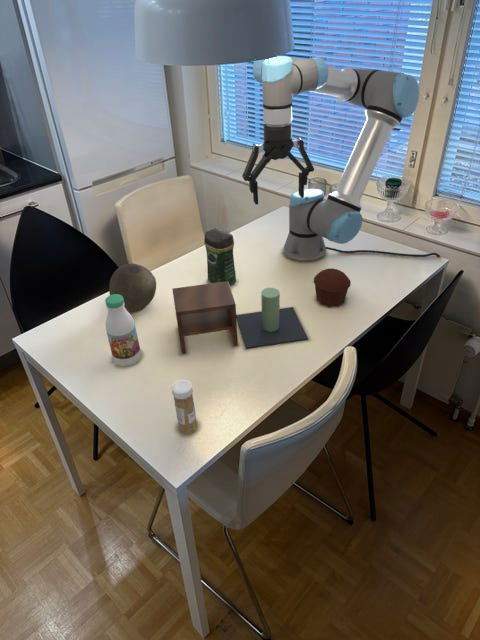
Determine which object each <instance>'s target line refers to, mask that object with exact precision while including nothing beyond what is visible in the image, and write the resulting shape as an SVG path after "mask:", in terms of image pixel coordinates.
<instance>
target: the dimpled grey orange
mask: <svg viewBox="0 0 480 640" xmlns="http://www.w3.org/2000/svg"><path fill="white" fill-rule="evenodd" d="M108 289H109V290H108V291H109V292H108V293H109V296H110V295H113V294H119V295H121V296H122V297H123V299H124V307H125V309H126V310H127V311H128V313H129V314H134V313H138V312H141V311H143V310H144V309H146V308H147V307H148V306H149V305H150V303H151V302H152V301H153V300H154V297H155V295H156V291H157V280H156V277H155V275H154V274H153V273H152V271H150V269H148V268H147V267H145V266H143V265H141V264H138V263H125V264H123V265H121V266H119V267H118V268H116V270H115V271H114V272H113V273H112V275H111V277H110V280H109V287H108Z"/></svg>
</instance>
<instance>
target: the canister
mask: <svg viewBox="0 0 480 640" xmlns="http://www.w3.org/2000/svg"><path fill="white" fill-rule="evenodd" d="M260 294H261V296H260V297H261V298H260V299H261V300H260V301H261V302H260V304H261V305H260V306H261V311H262V328H263V329H264V330H265V331H269V332H272V331H276V330H278V329H279V320H280V309H281V307H280V305H281V303H280V302H281V299H280V298H281V291H280V289H278V288H276V287H265V288H263V289H262V290H261V292H260Z"/></svg>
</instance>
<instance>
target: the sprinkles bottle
mask: <svg viewBox="0 0 480 640" xmlns="http://www.w3.org/2000/svg"><path fill="white" fill-rule="evenodd" d="M193 392H194V387H193V384H192V382H191V381H190V380H187V379H178V380H176V381H175V382H174V383H173V384H172V385H171V393H172V396H173V400H174V407H175V414H176V419H177V420H176V421H177V424H178V431H179V432H180V433H182V434H185V435H190V434H193V433H194V432H195V431H197V430H198V425H199V424H198V421H197V414H196V405H195V402H194V396H193V394H194V393H193Z"/></svg>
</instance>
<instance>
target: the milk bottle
mask: <svg viewBox="0 0 480 640" xmlns="http://www.w3.org/2000/svg"><path fill="white" fill-rule="evenodd" d="M104 302H105V306H106V309H107V315H106V319H105V331H106V337H107V340H108V344H109V349H110V352H111V356H112V360H113V363H115V364H116V365H118V366H121V367H129V366H132V365H135V364H137V363H138V362H139V361H140V359H141V356H142V352H141V351H142V350H141V347H140V346H141V345H140V342H139V337H138V331H137V327H136V324H135V320H134V318H133V316H132V315H131V313H128V311H127V310H126V309H125V307H124V299H123V297H122V296H121V295H119V294H113V295H110V294H109V295H108V296H107V297H106V298H105V299H104Z"/></svg>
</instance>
